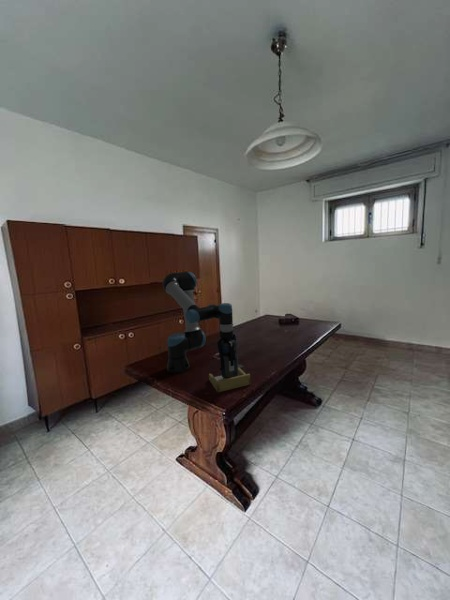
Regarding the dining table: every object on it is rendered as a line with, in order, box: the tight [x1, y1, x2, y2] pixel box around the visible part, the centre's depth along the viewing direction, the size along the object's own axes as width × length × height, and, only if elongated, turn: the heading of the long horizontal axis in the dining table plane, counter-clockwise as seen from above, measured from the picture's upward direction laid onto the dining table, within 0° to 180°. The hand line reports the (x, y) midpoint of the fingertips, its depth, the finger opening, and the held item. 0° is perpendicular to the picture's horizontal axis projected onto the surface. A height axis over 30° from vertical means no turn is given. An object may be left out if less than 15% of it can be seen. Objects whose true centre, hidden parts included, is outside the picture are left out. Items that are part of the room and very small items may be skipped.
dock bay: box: [208, 368, 251, 393], centre depth 146 cm, size 20×16×6 cm
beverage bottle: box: [216, 333, 239, 379], centre depth 144 cm, size 10×13×25 cm
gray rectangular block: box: [238, 364, 245, 372], centre depth 161 cm, size 6×4×3 cm, turn 118°
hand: (228, 366), depth 145 cm, fingers open, 10 cm apart
